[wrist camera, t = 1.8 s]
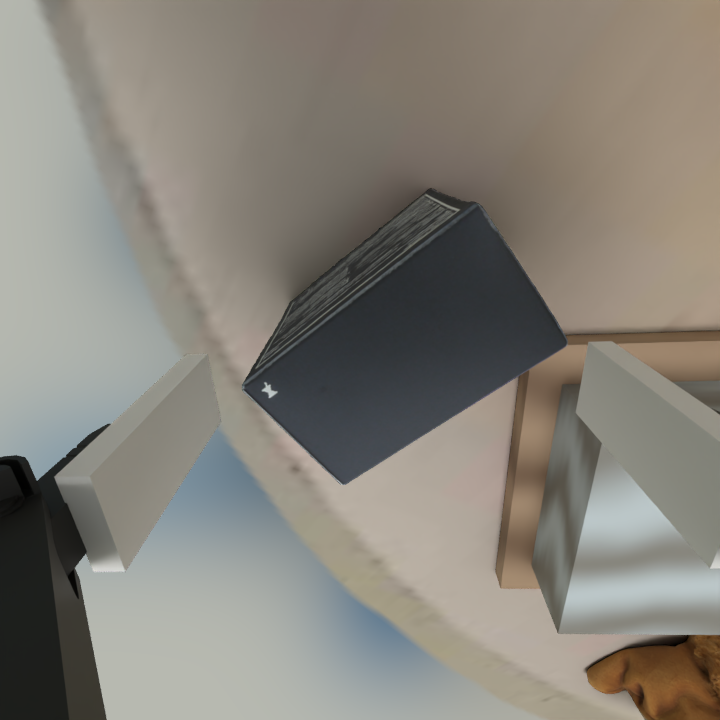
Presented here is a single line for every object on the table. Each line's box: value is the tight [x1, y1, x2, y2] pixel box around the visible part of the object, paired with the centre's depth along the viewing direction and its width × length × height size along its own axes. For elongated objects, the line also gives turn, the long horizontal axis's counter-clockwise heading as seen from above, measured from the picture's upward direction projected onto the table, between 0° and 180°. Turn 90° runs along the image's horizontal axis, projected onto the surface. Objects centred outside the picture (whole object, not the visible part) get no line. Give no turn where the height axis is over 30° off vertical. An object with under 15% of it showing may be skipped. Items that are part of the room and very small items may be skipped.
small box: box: [242, 189, 568, 485], centre depth 20 cm, size 11×6×10 cm, turn 129°
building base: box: [496, 331, 720, 635], centre depth 26 cm, size 20×16×6 cm
